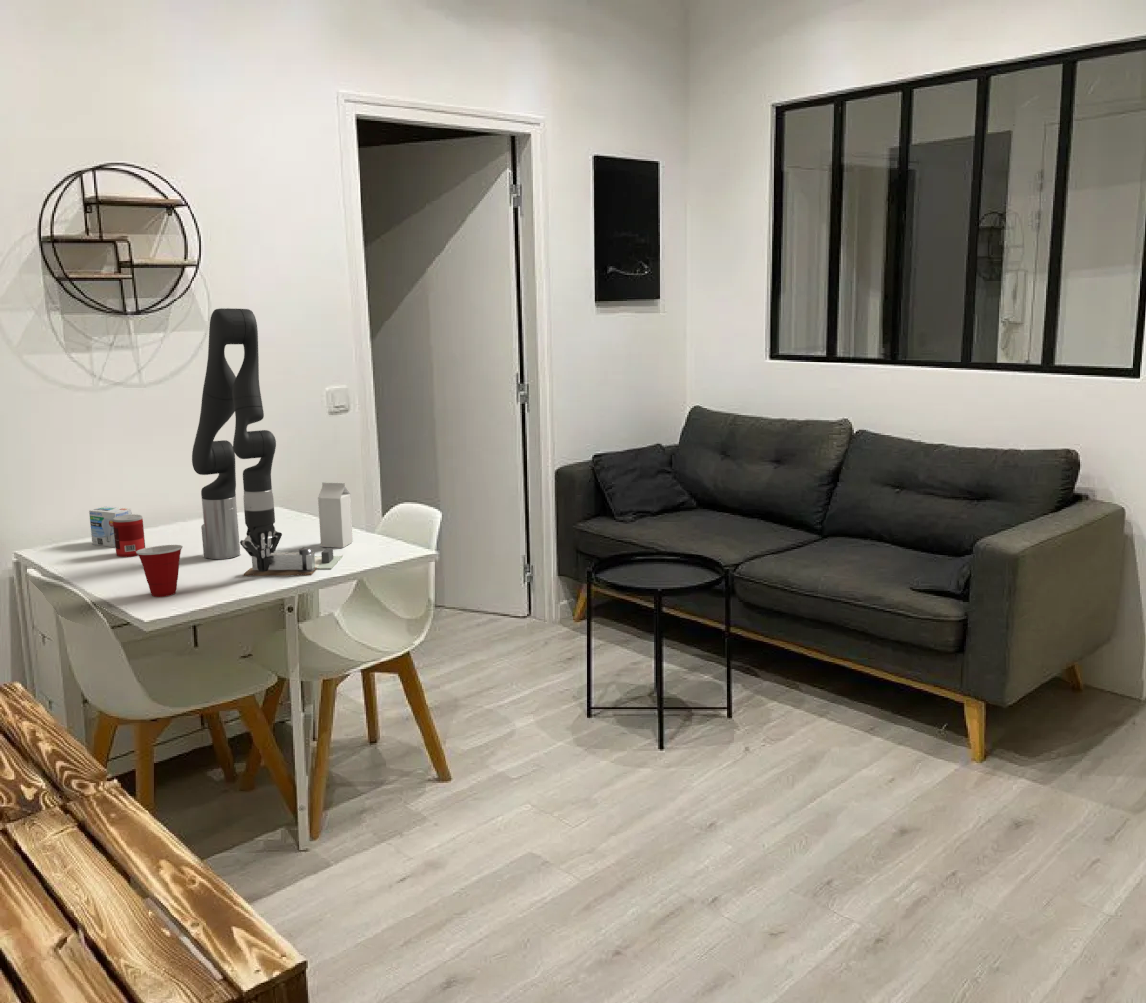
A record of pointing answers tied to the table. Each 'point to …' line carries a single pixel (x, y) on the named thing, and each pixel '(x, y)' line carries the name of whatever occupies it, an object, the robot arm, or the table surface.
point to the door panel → (326, 565)
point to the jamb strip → (279, 572)
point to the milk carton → (335, 515)
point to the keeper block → (327, 555)
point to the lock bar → (290, 560)
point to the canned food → (128, 535)
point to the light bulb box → (105, 524)
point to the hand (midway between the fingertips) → (263, 570)
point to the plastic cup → (161, 568)
